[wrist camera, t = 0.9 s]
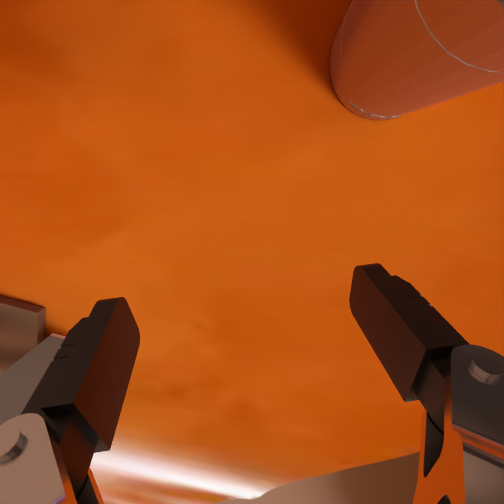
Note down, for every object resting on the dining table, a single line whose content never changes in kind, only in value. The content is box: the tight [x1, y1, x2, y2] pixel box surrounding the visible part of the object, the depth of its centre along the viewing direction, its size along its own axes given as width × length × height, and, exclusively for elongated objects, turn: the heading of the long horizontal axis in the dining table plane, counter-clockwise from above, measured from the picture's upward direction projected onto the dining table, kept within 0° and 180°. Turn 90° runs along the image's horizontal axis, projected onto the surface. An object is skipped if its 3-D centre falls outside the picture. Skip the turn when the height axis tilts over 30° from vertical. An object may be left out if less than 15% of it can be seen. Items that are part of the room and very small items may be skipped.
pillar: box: [0, 333, 66, 425], centre depth 28 cm, size 8×5×16 cm, turn 165°
